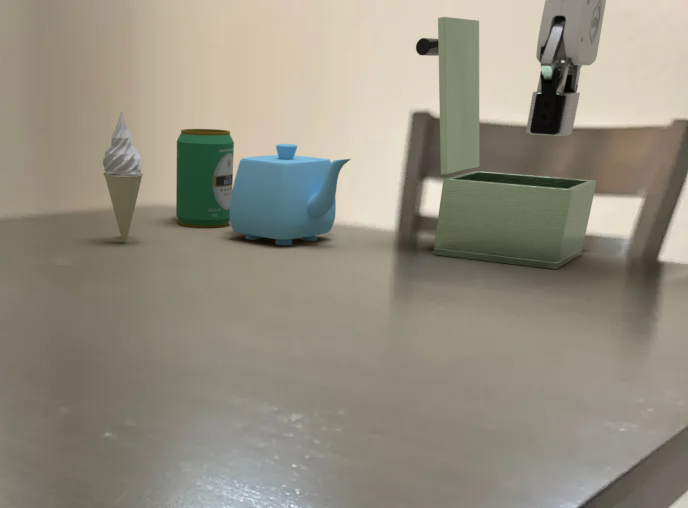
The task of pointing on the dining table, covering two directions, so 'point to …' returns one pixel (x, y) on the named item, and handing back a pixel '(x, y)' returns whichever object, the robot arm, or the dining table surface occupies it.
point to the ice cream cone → (123, 176)
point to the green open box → (513, 218)
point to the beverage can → (204, 177)
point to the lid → (457, 91)
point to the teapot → (284, 196)
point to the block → (566, 116)
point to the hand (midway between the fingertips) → (549, 130)
